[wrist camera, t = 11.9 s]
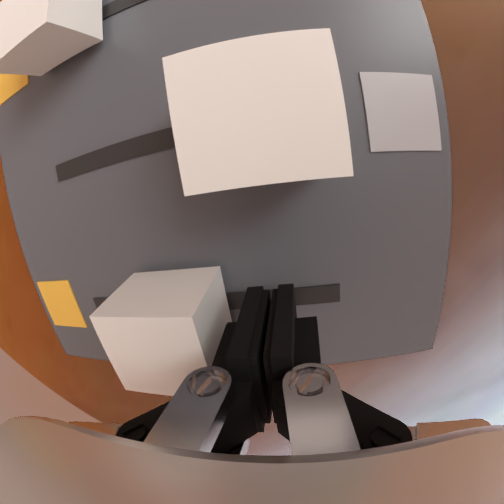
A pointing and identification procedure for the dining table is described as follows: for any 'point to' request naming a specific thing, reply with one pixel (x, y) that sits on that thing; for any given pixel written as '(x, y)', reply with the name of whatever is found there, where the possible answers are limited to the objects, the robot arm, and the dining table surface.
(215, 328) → the tab
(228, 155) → the tab
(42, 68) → the tab
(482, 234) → the dining table surface
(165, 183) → the switch board
